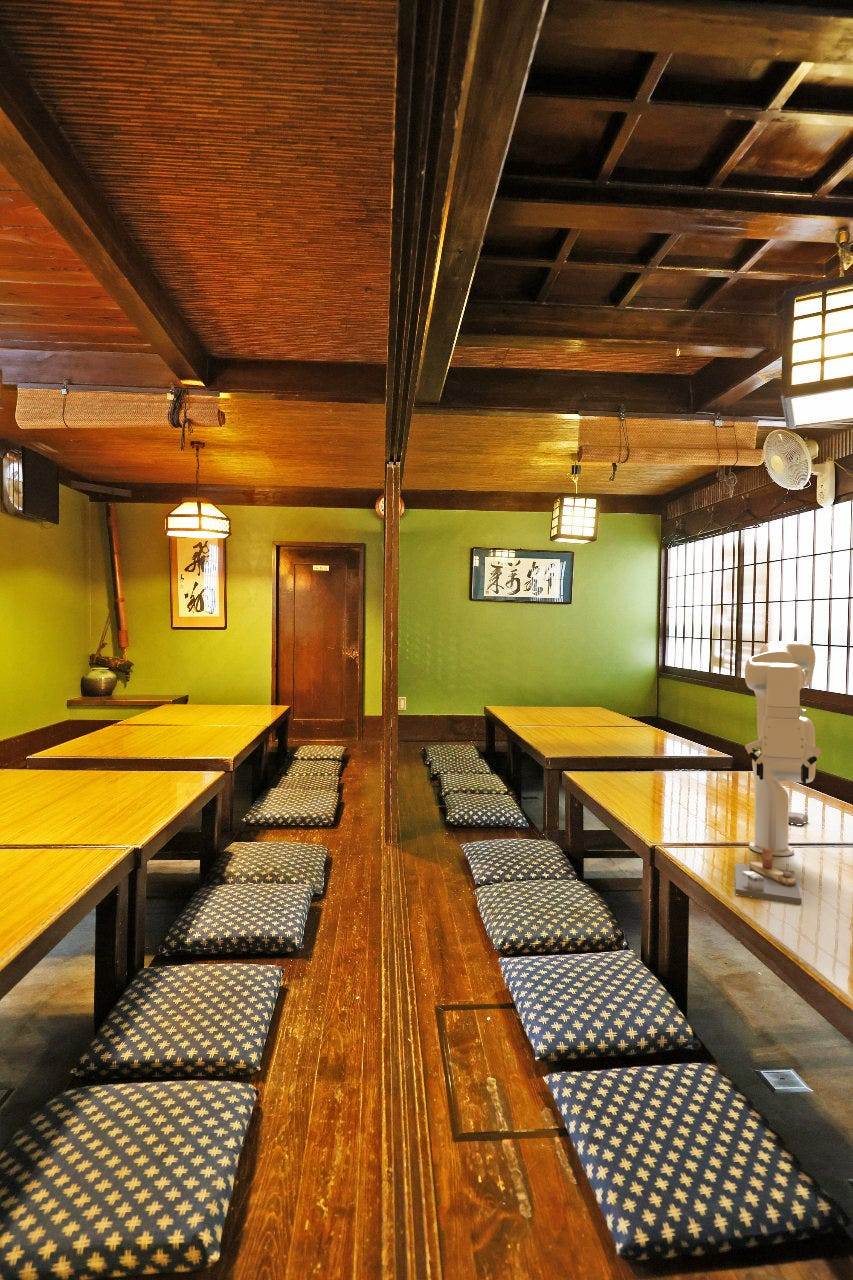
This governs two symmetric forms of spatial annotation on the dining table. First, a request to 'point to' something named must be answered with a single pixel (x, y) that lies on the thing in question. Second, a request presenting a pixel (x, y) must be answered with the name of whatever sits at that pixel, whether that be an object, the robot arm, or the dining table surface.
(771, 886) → the base board
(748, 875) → the block
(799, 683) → the robot arm
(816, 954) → the dining table surface
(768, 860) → the ash link
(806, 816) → the stone block
